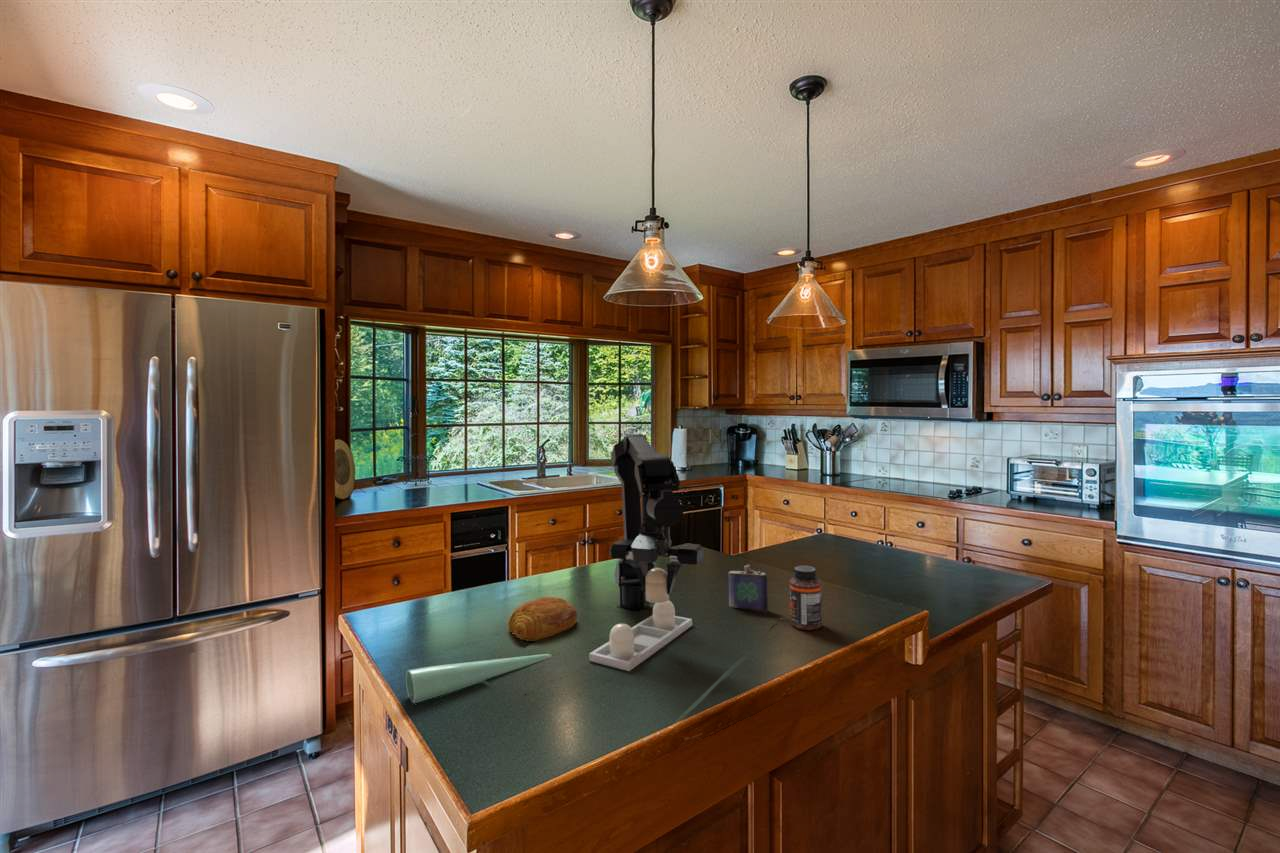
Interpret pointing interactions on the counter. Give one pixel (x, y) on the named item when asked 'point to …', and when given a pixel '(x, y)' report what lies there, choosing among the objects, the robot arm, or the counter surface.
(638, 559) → the robot arm
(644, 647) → the egg carton
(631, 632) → the cream egg
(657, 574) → the tan egg
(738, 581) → the flask
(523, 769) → the counter surface
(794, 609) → the supplement bottle
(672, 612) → the cream egg
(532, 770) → the counter surface
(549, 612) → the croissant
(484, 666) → the long green cone
